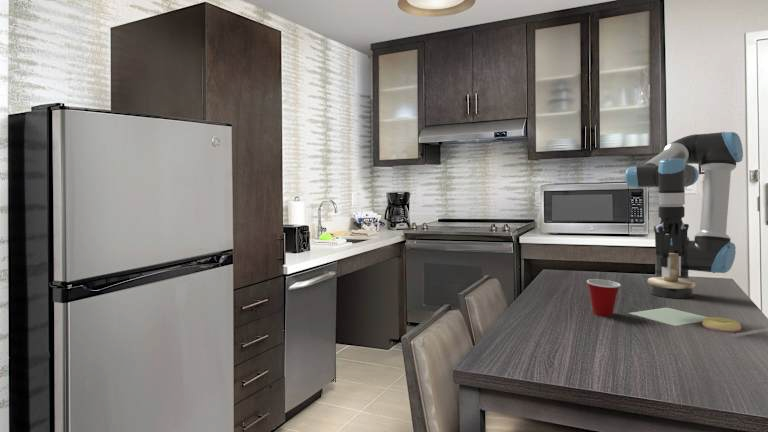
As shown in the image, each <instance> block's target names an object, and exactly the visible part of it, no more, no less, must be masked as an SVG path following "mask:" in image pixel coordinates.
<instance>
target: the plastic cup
mask: <svg viewBox="0 0 768 432" xmlns="http://www.w3.org/2000/svg"><path fill="white" fill-rule="evenodd" d="M586 283H587V286H588V287H587V288H588V291H589V296H590V303H591V306H592V312H593V314H594V315H595V316H600V317H609V316H610V317H611V316H613V312H614V308H615V305H616V304H615V303H616V299H617V293H618V291H619V288H620V287H621V286H622V285H621V283H619V282H616V281H613V280H609V279H601V278H600V279H597V278H592V279H591V278H589V279H587V280H586Z"/></svg>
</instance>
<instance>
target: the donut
mask: <svg viewBox="0 0 768 432" xmlns="http://www.w3.org/2000/svg"><path fill="white" fill-rule="evenodd" d="M701 324H702V326H703V327H704V328H706V329H709V330H714V331H719V332H728V333H729V332H734V333H735V332H740V331H741V330H742V326H741V324H740V323H739V322H738V321H737V320H734V319H731V318H728V317H727V318H726V317H720V316H719V317H718V316H715V317H714V316H710V317H709V318H705V319H704V320H703V321H702V322H701Z"/></svg>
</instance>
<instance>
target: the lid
mask: <svg viewBox="0 0 768 432" xmlns="http://www.w3.org/2000/svg"><path fill="white" fill-rule="evenodd" d="M668 257H670V258H671V277H655V276H654V277H653V276H652V277H649V278H648V279H647V285H650V286H656V287H662V288H673V289H686V288H692V289H693V288H695V287H696V283H697V281H696V280H693V279H690V278H689V279H686V278H678V254H677V253H669V256H668Z"/></svg>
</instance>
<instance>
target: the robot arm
mask: <svg viewBox="0 0 768 432" xmlns="http://www.w3.org/2000/svg"><path fill="white" fill-rule="evenodd" d="M743 149H744V148H743V144H742V140H741V137H740V136H739V134H738V133H737V132H736V131H735V132H734V131H729V132H728V131H721V132H720V131H719V132H713V133H699V134H697V133H696V134H689V135H685V136H684V137H680V138H678V139H676V140H673V141H672V142H670V143H668V144H667V145H666V146H665V147H664V148H663V150H662V151H661V152H660V153H658V154H656V156H654V157H653V158H651V159H649V160H648V161H646V162H645V163H643V164H642V165H640V166H636V165H635V166H629V167H628V168H627V169H626V170H625V174H624V175H625V176H624V179H625V183H626V185H627V186H628V187H630V188H637V189H638V188H658V205H660V206H659V207H658V218H660V223H659V224H658V225H654V226H653V231H654V237H655V238H654V240H655V241H654V242H655V243H654V244H655V245H654V246H655V249H654V252H655V253H654V254H655V261H654V262H655V266H654V267H655V271H654V272H655V275H654V277H671V258H670V257H668V256H669V253H677V254H678V278H686V279H690V277H689V271H695V272H704V273H705V272H706V273H713V274H717V273H718V274H719V273H720V274H721V273H722V274H726V273H727V272H729V271H730V270H731V269H732V266H733V264H734V261H735V259H736V248H737V247H736V245H735V243H734V242H731V237H730V236H729V235H728V234H727V228H728V216H729V215H728V213H729V201H730V187H731V174H732V172H733V171H734V170H735V169H736V168H737V163H740V162H742V161H743V157H744V150H743ZM692 164H700V168H701V169H702V170H703V171H704V174H703V175H704V177H703V187H702V198H701V199H702V202H701V209H700V210H701V213H700V224H699V226H700V227H699V232H698V233H696V234H695V235H694V240H690V237H689V236H688V231H689V228H690V225H689V224H688V223H684V222H683V218H685V214H686V213H685V206H683V205H685V202H686V200H685V196H686V194H685V192H686V191H685V190H686V189H685V187H686V188H688V187H690V186H692V185H694V184H695V183H696V182H698V179H699V170H698V169H697V168H696V167H695V166H693V165H692ZM650 294H651V295H654V296H657V297H662V298H670V299H671V298H672V299H687V298H693V297H694V289H693V288H686V289H673V288H662V287H656V286H652V285H650Z"/></svg>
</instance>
